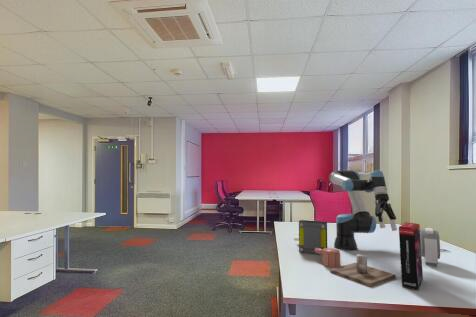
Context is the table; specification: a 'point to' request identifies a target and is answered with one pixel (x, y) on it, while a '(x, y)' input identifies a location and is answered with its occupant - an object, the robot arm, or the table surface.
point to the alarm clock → (430, 246)
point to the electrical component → (312, 235)
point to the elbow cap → (329, 256)
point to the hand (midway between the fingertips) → (388, 229)
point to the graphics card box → (410, 255)
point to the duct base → (361, 277)
